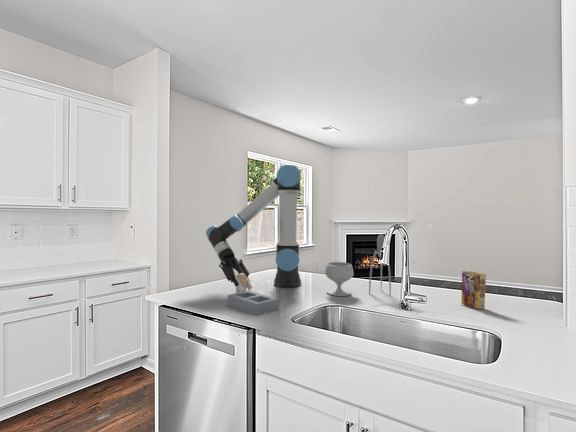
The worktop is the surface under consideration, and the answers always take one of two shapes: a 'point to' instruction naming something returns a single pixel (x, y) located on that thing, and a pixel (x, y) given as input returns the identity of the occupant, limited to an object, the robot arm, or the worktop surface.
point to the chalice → (339, 276)
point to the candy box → (473, 289)
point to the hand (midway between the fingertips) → (246, 289)
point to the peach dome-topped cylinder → (242, 281)
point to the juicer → (379, 246)
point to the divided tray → (253, 302)
